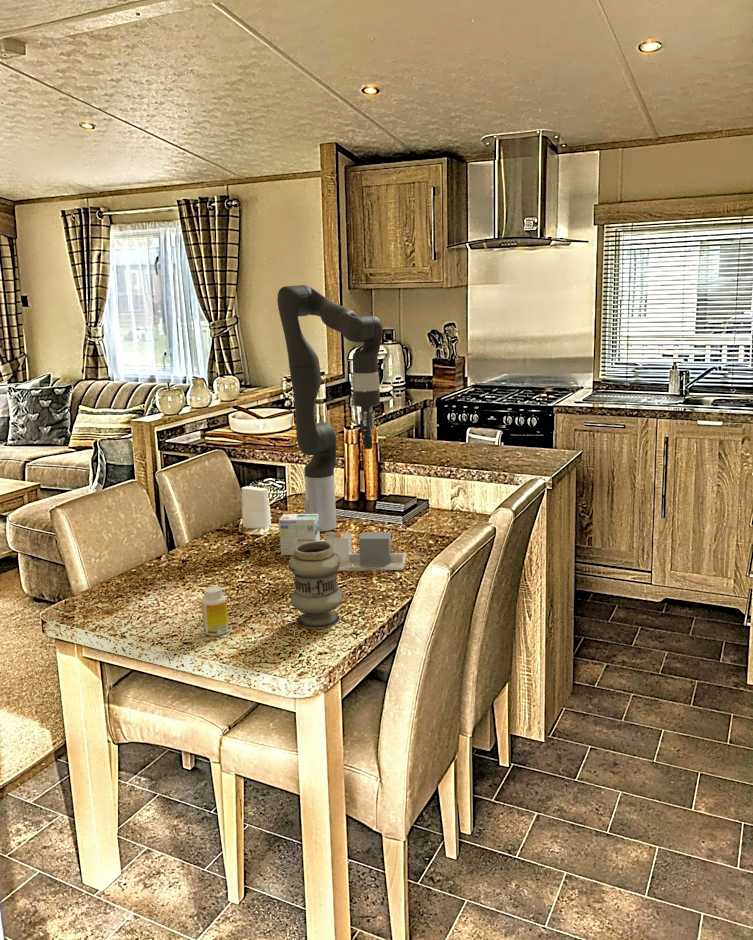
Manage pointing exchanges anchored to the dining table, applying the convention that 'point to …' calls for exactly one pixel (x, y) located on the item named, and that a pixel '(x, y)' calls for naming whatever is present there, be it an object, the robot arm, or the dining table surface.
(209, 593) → the supplement bottle
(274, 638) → the dining table surface
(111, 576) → the dining table surface
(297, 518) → the light bulb box
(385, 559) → the module
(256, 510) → the upright white block
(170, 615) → the dining table surface
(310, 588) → the apothecary jar
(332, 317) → the robot arm
